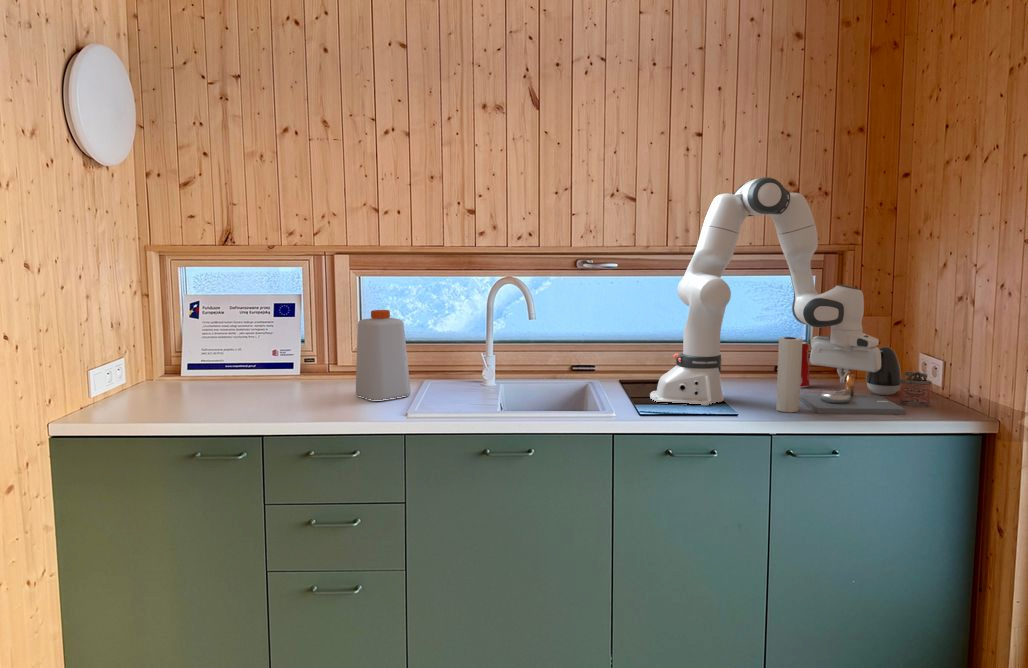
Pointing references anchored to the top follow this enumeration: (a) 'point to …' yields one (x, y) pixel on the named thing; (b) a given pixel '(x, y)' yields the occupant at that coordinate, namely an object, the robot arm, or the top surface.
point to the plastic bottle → (381, 358)
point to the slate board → (853, 405)
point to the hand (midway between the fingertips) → (843, 382)
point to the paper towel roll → (789, 374)
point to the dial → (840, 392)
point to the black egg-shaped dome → (885, 374)
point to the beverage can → (805, 365)
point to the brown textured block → (915, 390)
